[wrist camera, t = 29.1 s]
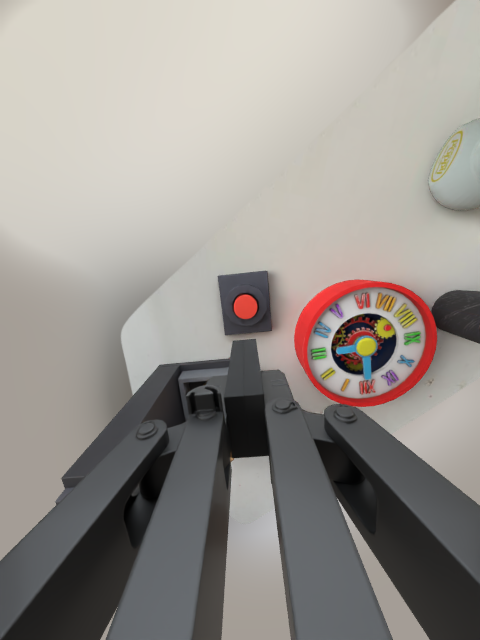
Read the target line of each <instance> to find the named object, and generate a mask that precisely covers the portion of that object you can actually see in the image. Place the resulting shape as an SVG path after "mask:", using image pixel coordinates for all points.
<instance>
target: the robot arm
mask: <svg viewBox="0 0 480 640" xmlns="http://www.w3.org/2000/svg"><path fill="white" fill-rule="evenodd" d="M186 401H187V407H188V412H189V417H188V420H187V421H186V422H185V423H182V424H180V425H177V426H173V427H170V428H167V424H166V423H165V422H164V421H162V420H159V419H157V420H149V421H146V422H143V423H141V424H139V425H137V426H136V427H135V428H134V429H132V430H131V431H130V432H129V433H128V434H127V435H126V436H125V437H124V438H123V439H122V440H121V441H120V442H119V443H118V444H117V445H116V446H115V447H114V448H113V449H112V450H111V451H110V452H109V453H108V454H107V455H106V456H105V457H104V458H103V459H102V460H101V461H100V462H99V463H98V464H97V465H96V466H95V467H94V468H93V469H92V470H91V471H90V472H89V473H88V474H87V475H86V476H85V477H84V478H83V479H82V480H81V481H80V482H79V483H78V484H77V485H76V486H75V487H74V488H73V489H72V490H71V491H70V492H69V493H68V494H67V495H66V496H65V497H64V498H63V499H62V500H61V501H60V502H59V503H58V504H57V505H56V506H55V507H54V508H53V509H52V510H51V511H50V512H49V513H48V514H47V515H46V516H45V517H44V518H43V519H42V520H41V521H40V522H39V523H38V524H37V525H36V526H35V527H34V528H33V529H32V530H31V531H30V532H29V533H28V534H27V535H26V536H25V537H24V538H23V539H22V540H21V541H20V542H19V543H18V544H17V545H16V546H15V547H14V548H13V549H12V550H11V551H10V552H9V553H8V554H7V555H6V556H5V557H4V558H3V559H2V560H1V561H0V640H100V639H101V637H102V635H103V633H104V631H105V629H106V627H107V625H108V624H109V622H110V620H111V618H112V616H113V614H114V612H115V610H116V609H117V610H116V613H115V616H114V618H113V621H112V624H111V626H110V629H109V632H108V635H107V637H106V640H221V636H222V619H223V603H224V586H225V570H226V554H227V538H228V522H229V506H230V489H231V473H232V469H231V462H230V455H232V458H243V457H257V456H269V463H270V474H271V484H272V488H273V496H274V505H275V513H276V520H277V529H278V537H279V544H280V554H281V561H282V570H283V578H284V586H285V594H286V602H287V611H288V618H289V627H290V634H291V640H393V639H392V636H391V634H390V631H389V629H388V626H387V623H386V621H385V618H384V616H383V613H382V611H381V608H380V606H379V604H378V601H377V598H376V596H375V593H374V591H373V588H372V586H371V583H370V581H369V578H368V576H367V573H366V570H365V568H364V566H363V563H362V560H361V558H360V555H359V553H358V550H357V548H356V545H355V543H354V540H353V538H352V535H351V533H350V530H349V528H348V525H347V523H346V520H345V518H344V515H343V512H342V510H341V507H340V505H339V502H340V503H341V504H342V506H343V508H344V509H345V511H346V512H347V514H348V515H349V517H350V518H351V520H352V521H353V523H354V524H355V526H356V527H357V529H358V531H359V532H360V534H361V535H362V537H363V538H364V540H365V541H366V543H367V544H368V546H369V547H370V549H371V550H372V552H373V553H374V555H375V556H376V558H377V559H378V561H379V563H380V564H381V566H382V567H383V569H384V570H385V572H386V573H387V575H388V576H389V578H390V579H391V581H392V582H393V584H394V585H395V587H396V589H397V590H398V591H399V593H400V594H401V596H402V597H403V599H404V601H405V602H406V604H407V605H408V607H409V608H410V610H411V611H412V613H413V614H414V616H415V618H416V619H417V621H418V622H419V624H420V625H421V627H422V628H423V630H424V631H425V633H426V634H427V636H428V637H429V639H430V640H480V505H478V504H477V503H476V502H475V501H473V500H472V499H471V498H470V497H468V496H467V495H466V494H464V493H463V492H462V491H461V490H460V489H458V488H457V487H456V486H455V485H453V484H452V483H451V482H450V481H448V480H447V479H446V478H445V477H443V476H442V475H441V474H439V473H438V472H437V471H436V470H435V469H433V468H432V467H431V466H430V465H428V464H427V463H426V462H425V461H423V460H422V459H421V458H420V457H418V456H417V455H416V454H415V453H413V452H412V451H411V450H410V449H408V448H407V447H406V446H405V445H403V444H402V443H401V442H400V441H398V440H397V439H396V438H395V437H393V436H392V435H391V434H390V433H388V432H387V431H386V430H385V429H384V428H382V427H381V426H380V425H379V424H377V423H376V422H375V421H374V420H372V419H371V418H370V417H369V416H367V415H366V414H365V413H364V412H362V411H361V410H359V409H357V408H356V407H353V406H350V405H346V404H334V405H331V406H329V407H327V408H326V409H325V410H324V415H323V414H315V413H310V412H307V411H304V410H302V409H301V406H300V405H299V404H298V402H296V401H294V399H293V396H292V393H291V390H290V388H289V385H288V382H287V380H286V377H285V374H284V373H282V372H281V371H280V370H270V371H260V365H259V358H258V352H257V345H256V339H249V340H239V341H233V343H232V350H231V356H230V362H229V368H228V374H227V375H220V376H212V377H211V378H210V379H209V380H208V381H207V383H206V385H205V386H199V387H197V388H194V389H192V390H191V391H189V392H188V393H187V395H186ZM137 485H138V487H137ZM136 487H137V489H136V490H135V488H136ZM134 490H135V491H134ZM133 491H134V492H133ZM132 492H133V493H132ZM337 498H338V500H339V502H338V500H337ZM117 607H118V608H117Z"/></svg>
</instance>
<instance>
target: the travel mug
mask: <svg viewBox="0 0 480 640" xmlns="http://www.w3.org/2000/svg"><path fill="white" fill-rule="evenodd" d="M432 315H433V317H434V321H435V324H436V326H437V327H438V328H439V329H441V330H443V331H446V332H449V333H451V334H454V335H457V336H460V337H463V338H465V339H468V340H471V341H474V342H477V343H480V292H477V291H461V290H456V291H451V292H448V293H446V294H444V295H442V296H441V297H440V298H439V299H438V300H437V301H436V302H435V304H434V306H433V308H432Z"/></svg>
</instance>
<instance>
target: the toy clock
mask: <svg viewBox="0 0 480 640" xmlns="http://www.w3.org/2000/svg"><path fill="white" fill-rule="evenodd" d="M294 343H295V350H296V354H297V357H298V359H299V361H300V363H301V365H302V367H303V369H304V370H305V372H306V374H307V375H308V377H309V379H310V380H311V381H312V383H313V384H314V386H315V387H316V388H317V389H318V390H319V391H320V392H321V393H322V394H324V395H325V396H327V397H328V398H330V399H331V400H334V401H336V402H338V403H341V404H346V405H350V406H357V407H366V406H375V405H379V404H384V403H386V402H389V401H392V400H394V399H396V398H398V397H399V396H401V395H403V394H405V393H406V392H407V391H409V390H410V389H411V388H413V387H414V386H415V385H416V384H417V383H418V382H419V381H420V379H421V378H422V377H423V375H424V374H425V373H426V371H427V370H428V368H429V366H430V364H431V362H432V360H433V357H434V354H435V350H436V344H437V330H436V324H435V321H434V317H433V315H432V313H431V311H430V309H429V307H428V306H427V305H426V304H425V302H424V301H423V300H422V299H421V298H420V297H419V296H417V295H416V294H415V293H414V292H412V291H410V290H408V289H406V288H404V287H402V286H399V285H396V284H392V283H386V282H377V281H368V280H348V281H343V282H340V283H336V284H334V285H332V286H330V287H327V288H326V289H324V290H323V291H321V292H320V293H318V294H317V295H316V296H315V297H314V298H313V299H311V300H310V301H309V303H308V304H307V305H306V307H305V308H304V309H303V311H302V313H301V315H300V317H299V319H298V322H297V325H296V328H295V335H294Z"/></svg>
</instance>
